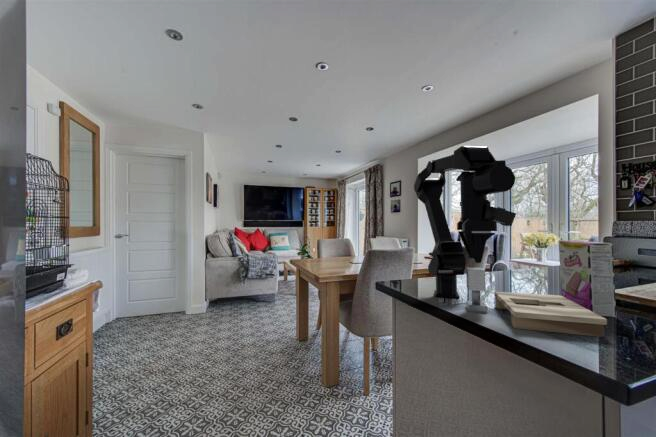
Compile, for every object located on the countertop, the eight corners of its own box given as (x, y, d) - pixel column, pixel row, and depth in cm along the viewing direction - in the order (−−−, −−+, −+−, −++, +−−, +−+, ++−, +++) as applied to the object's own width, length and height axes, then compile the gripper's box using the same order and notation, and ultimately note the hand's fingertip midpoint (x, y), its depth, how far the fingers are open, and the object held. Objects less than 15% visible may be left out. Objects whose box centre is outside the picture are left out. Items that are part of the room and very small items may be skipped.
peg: (466, 306, 70) (465, 267, 70) (484, 308, 69) (483, 267, 69) (468, 311, 66) (467, 269, 67) (487, 312, 65) (486, 270, 65)
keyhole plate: (494, 305, 71) (494, 291, 71) (561, 310, 66) (561, 295, 66) (515, 330, 54) (515, 311, 54) (607, 339, 49) (606, 319, 50)
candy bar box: (559, 303, 72) (557, 240, 73) (582, 304, 71) (579, 240, 72) (591, 317, 61) (588, 242, 62) (618, 318, 60) (614, 242, 61)
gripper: (524, 190, 57) (526, 267, 57) (501, 198, 74) (503, 257, 74) (464, 193, 61) (465, 265, 60) (456, 200, 78) (457, 256, 78)
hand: (475, 260), depth 68 cm, fingers open, 9 cm apart
